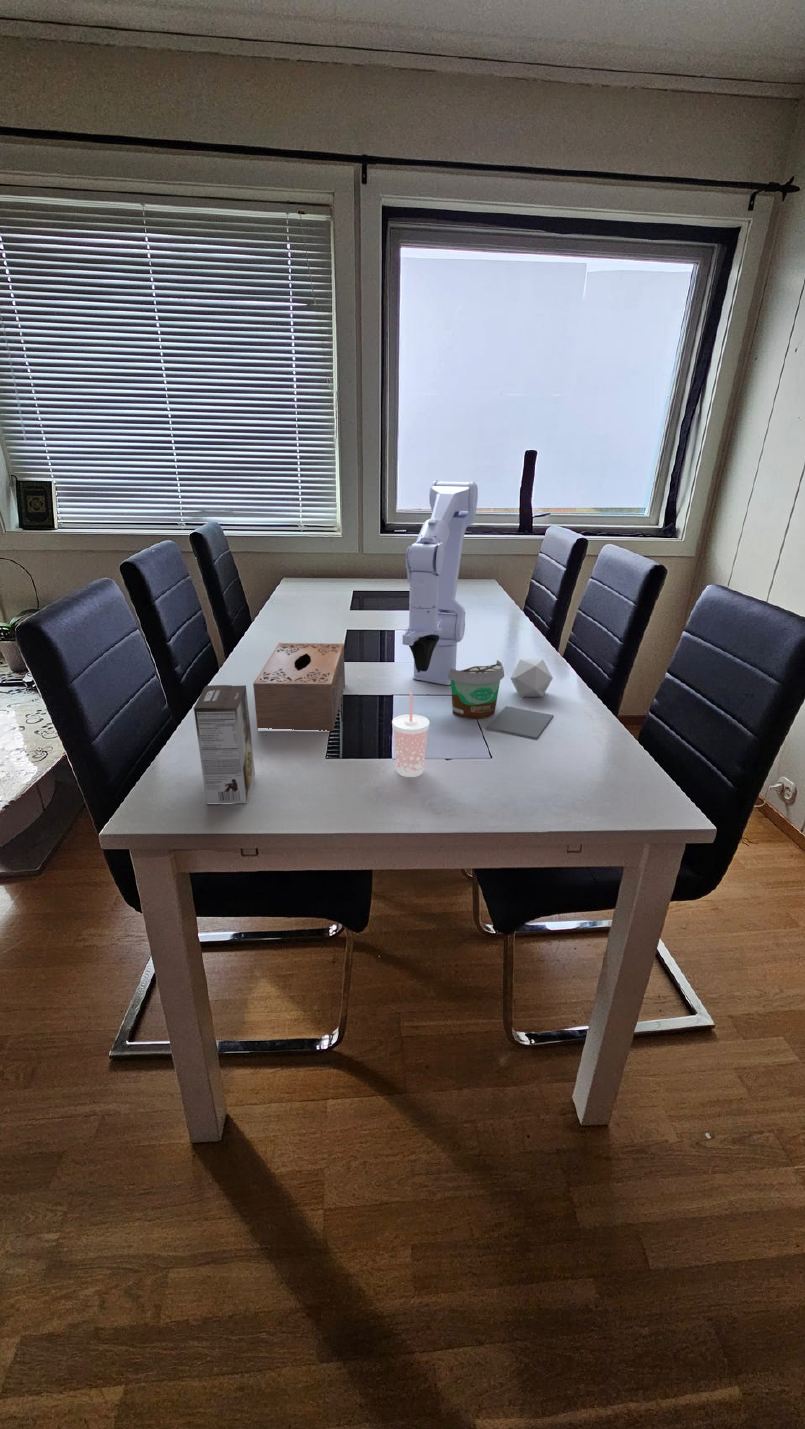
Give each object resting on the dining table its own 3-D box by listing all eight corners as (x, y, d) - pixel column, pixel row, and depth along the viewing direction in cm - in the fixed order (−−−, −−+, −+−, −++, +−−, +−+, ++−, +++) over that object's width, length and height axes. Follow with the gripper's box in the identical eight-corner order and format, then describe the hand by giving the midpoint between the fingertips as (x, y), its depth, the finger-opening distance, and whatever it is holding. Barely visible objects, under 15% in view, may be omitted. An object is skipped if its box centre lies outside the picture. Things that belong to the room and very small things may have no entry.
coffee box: (216, 776, 101) (204, 684, 95) (256, 775, 102) (247, 683, 96) (204, 806, 93) (191, 707, 87) (248, 804, 94) (238, 706, 87)
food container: (462, 725, 121) (465, 677, 117) (446, 714, 126) (448, 668, 122) (513, 714, 126) (517, 668, 122) (496, 704, 131) (499, 659, 127)
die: (540, 707, 131) (564, 669, 131) (506, 686, 131) (530, 647, 131) (531, 706, 140) (554, 670, 139) (499, 686, 139) (522, 650, 139)
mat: (486, 728, 120) (486, 726, 120) (505, 707, 129) (506, 705, 129) (536, 739, 116) (536, 737, 115) (553, 716, 125) (553, 714, 125)
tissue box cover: (282, 685, 141) (279, 643, 137) (345, 685, 141) (343, 643, 138) (257, 732, 118) (253, 683, 114) (333, 733, 118) (331, 684, 114)
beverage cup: (430, 778, 101) (432, 699, 96) (393, 779, 101) (393, 700, 95) (426, 761, 107) (428, 685, 101) (390, 762, 106) (390, 686, 101)
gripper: (426, 615, 116) (424, 683, 121) (456, 600, 127) (453, 663, 133) (393, 611, 119) (392, 677, 124) (425, 596, 130) (423, 658, 136)
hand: (422, 670), depth 129 cm, fingers closed
